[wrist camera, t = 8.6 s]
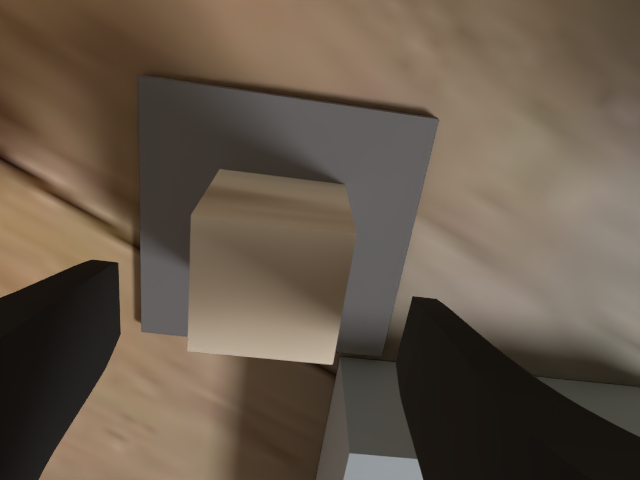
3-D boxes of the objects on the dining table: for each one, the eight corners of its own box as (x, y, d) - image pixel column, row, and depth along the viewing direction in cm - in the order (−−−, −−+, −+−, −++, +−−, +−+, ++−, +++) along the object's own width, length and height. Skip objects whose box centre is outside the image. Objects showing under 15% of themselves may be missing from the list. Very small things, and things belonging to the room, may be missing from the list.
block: (327, 291, 17) (332, 364, 13) (214, 279, 16) (187, 351, 13) (344, 184, 15) (356, 234, 11) (219, 168, 15) (190, 215, 11)
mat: (380, 350, 18) (381, 356, 18) (144, 325, 18) (141, 331, 17) (436, 117, 15) (439, 119, 14) (142, 74, 14) (138, 75, 14)
